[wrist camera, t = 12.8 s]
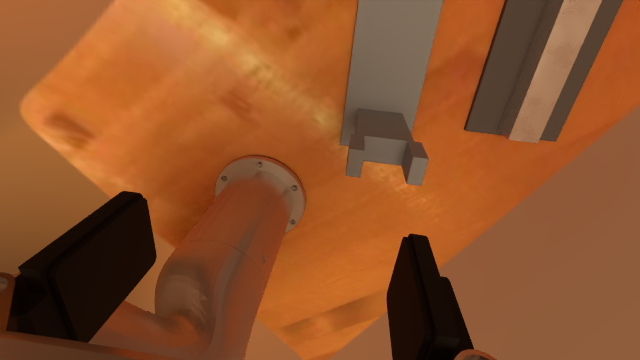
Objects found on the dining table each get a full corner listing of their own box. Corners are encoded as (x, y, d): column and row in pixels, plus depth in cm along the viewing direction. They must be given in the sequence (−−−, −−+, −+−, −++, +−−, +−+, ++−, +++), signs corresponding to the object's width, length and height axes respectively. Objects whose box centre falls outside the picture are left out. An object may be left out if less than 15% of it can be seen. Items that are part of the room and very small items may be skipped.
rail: (524, 133, 35) (537, 143, 33) (497, 130, 36) (508, 139, 33) (649, -164, 24) (685, -186, 21) (608, -167, 24) (639, -189, 22)
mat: (552, 139, 36) (555, 141, 35) (464, 128, 36) (465, 130, 36) (696, -166, 24) (704, -170, 24) (561, -175, 25) (566, -179, 24)
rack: (405, 150, 38) (425, 210, 27) (340, 141, 39) (331, 197, 27) (469, -122, 27) (557, -231, 15) (375, -129, 27) (387, -240, 15)
